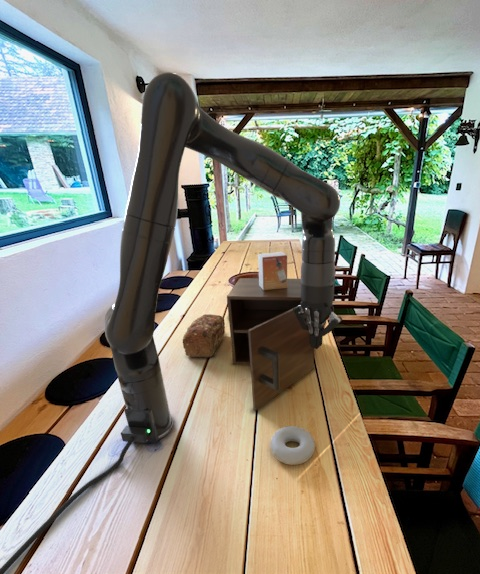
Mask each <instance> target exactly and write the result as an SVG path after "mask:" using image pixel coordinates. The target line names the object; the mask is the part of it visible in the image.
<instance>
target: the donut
mask: <svg viewBox="0 0 480 574" xmlns="http://www.w3.org/2000/svg"><path fill="white" fill-rule="evenodd" d="M288 442H295V443H298V444H299V445H298V446H297V447H289V446H287V445H286V444H287V443H288ZM269 444H270V445H269V446H270V451H271V453H272V455H273V456H274V458H275V459H277V460H278V461H279V462H281V463H283V464H285V465H291V466H295V465H301V464H304V463H306V462H307V461H308V460H310V459H311V458H312V456H313V454H314V453H315V450H316V449H315V448H316V442H315V439H314V437H313V435H312V434H311V433H310V432H309V431H308V430H307V429H305V428H303V427H300V426H295V425H289V426H284V427H280V428H279V429H278V430H277V431H275V432H274V433H273V435H272V436H271V439H270V443H269Z"/></svg>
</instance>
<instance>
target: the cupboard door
mask: <svg viewBox="0 0 480 574" xmlns="http://www.w3.org/2000/svg"><path fill="white" fill-rule="evenodd" d="M299 306H300V305H299ZM297 307H298V306H297ZM295 308H296V307H295ZM293 309H294V308H293ZM293 309H291V310H289V311H287V312H284V313H282V314H280V315H278V316H276V317H274V318H272V319H270V320H268V321H266V322H264V323H262V324H260V325H257V326H255V327H253V328H251V329H249V330H248V337H249V352H250V365H249V367H250V378H251V379H250V380H251V393H252V396H251V397H252V410H253V411H254V412H256V411H258V410H259V409H260V408H262V407H263V406H265V405H266V404H267V403H269V402H270V401H272V400H273V399H274V398H277V396H279V394H281V393H283V392H284V391H285V390H287V389H288V388H289V387H292V385H293V384H295V383H296V382H298V381H299V380H301V379H302V378H304V376H307V374H309V373H310V372H311V371H313V370H314V361H315V357H314V356H315V349H314V348H312V347H311V345H310V343H309V341H310V334H309V332H308V331H307V330H304V329H303V328H302V326H301V324H300V322H299V321H298V319H297V317H296V315H295V313H294V312H293ZM304 321H305V320H304ZM305 323H306V322H305Z"/></svg>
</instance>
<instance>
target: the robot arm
mask: <svg viewBox="0 0 480 574" xmlns="http://www.w3.org/2000/svg"><path fill="white" fill-rule="evenodd" d="M139 131H140V132H139V133H140V134H139V145H138V153H137V158H136V162H135V167H134V171H133V175H132V179H131V184H130V190H129V195H128V200H127V204H126V208H125V213H124V218H123V224H122V230H121V236H120V248H119V249H120V251H119V284H118V290H117V295H116V300H115V302H114V304H112V305H111V306H110V307H109V308H108V309H107V310H106V312H105V314H104V317H103V327H104V334H105V335H104V336H105V338H106V341H107V343H108V344H109V346H110V351H111V355H112V359H113V365H114V368H115V369H114V370H115V372H116V377H117V380H118V383H119V387H120V390H121V394H122V397H123V401H124V405H125V408H124V410H123V411H124V415H125V418H126V422H127V425H125V426H124V427H123V429H122V431H121V432H120V436H121V440H122V442H127V443H126V444H125V446H124V447H123V449H122V450H121V452H120V454H119V458H118V460H116V462H115V463H114V464H113V465H111V467H109V468H108V469H107V470H105V471H103V472H101V474H99V475H97V476H95V477H94V478H93V479H91V480H89V481H88V482H87V483H85V484H84V485H83V486H82V487H80V488H78V490H77V491H76V492H75V493H73V494H72V495H71V496H70V497H69V498H68V499H67V500H66V501H65V502H64V503H63V504H62V505H61V506H60V507H59V508H58V509H57V510H56V511H55V512H54V513H53V514H52V515H51V516H50V517H49V518H48V519H47V520H45V522H44V523H43V524H42V525H41V526H40V527H39V528H37V530H36V531H34V533H33V534H32V535H31V536H30V537H29V538H28V539H27V540H26V541H25V542H24V543H23V544H22V545H21V546H20V547H19V548H18V550H17V551H16V552H15V553H14V554H13V555H12V556H11V557H10V558H8V560H7V561H6V562H5V563H4V564H3V565H2V566H1V567H0V574H5V573H6V572H7V571H8V570H9V569H10V568H11V566H12V565H13V564H15V562H16V561H17V560H18V559H19V558H20V557H21V556H22V554H24V553H25V552H26V551H27V549H28V548H29V547H30V546H31V545H32V544H33V543H34V542H35V541H36V540H37V539H38V538H39V537H41V535H42V534H43V533H44V532H45V531H46V530H47V529H48V527H50V526H51V524H53V522H54V521H56V520H57V518H58V517H59V516H61V515H62V513H64V511H65V510H66V509H68V507H70V505H71V504H73V502H75V500H76V499H78V498H79V497H80V496H81V495H82V494H83V493H84V492H85V491H87V490H88V489H90V488H91V487H92V486H94V484H96V483H98V482H99V481H101V480H102V479H105V477H107V476H108V475H110V474H111V473H112V472H114V471H115V470H116V469H117V468H118V467H119V466H120V465H121V463H122V462H123V461H124V459H125V456H126V454H127V452H128V451H129V449H130V447H131V446H132V444H133V443H139V444H146V443H148V444H157V443H158V442H159V441H160V440H161V439H163V438H164V437H166V436H167V435H168V434H169V433H170V432H171V430H172V429H173V425H174V424H173V420H172V416H171V411H170V406H169V402H168V397H167V392H166V387H165V383H164V377H163V372H162V366H161V362H160V357H159V353H158V351H157V346H156V342H155V339H154V333H155V322H156V314H157V313H156V312H157V305H158V296H159V292H160V286H161V285H162V284H161V283H162V280H163V277H164V274H165V270H166V266H167V264H168V260H169V255H170V252H171V249H172V248H171V247H172V244H173V240H174V234H175V230H176V226H177V219H178V209H179V179H180V178H179V177H180V169H181V165H182V164H181V163H182V160H183V156H184V153H185V150H186V149H188V150H191V151H194V152H196V153H199V154H201V155H203V156H205V157H207V158H210V159H211V160H214V161H216V162H217V163H219V164H221V165H222V166H224V167H226V168H227V169H229V170H231V171H232V172H234V173H236V174H237V175H239V176H240V177H242V178H243V179H245V180H246V181H248V182H250V183H252V184H253V185H255V186H256V187H258V188H259V189H261V190H263V191H265V192H266V193H268V194H270V195H272V196H273V197H275V198H278V199H280V200H281V201H284V202H285V203H287V204H288V205H290V206H291V207H293V208H294V209H295V210H297V211H298V212H300V218H301V219H300V220H301V230H302V243H301V266H300V279H301V300H302V301H301V305H300V306H298V307H296V308H294V309H293V312H294V313H295V315H296V317H297V319H298V321H299V322H300V324H301V326H302V328H303V329H304V330H307V331H308V332H309V334H310V341H309V343H310V345H311V347H312V348H314V350H318V349H319V348H320V347H321V346H323V339H324V338H323V337H325V336H326V335H328V334H330V333H331V332H332V331H333V330H334V329H335V328H336V327H337V326H338V325H339V324H340V323H341V322H343V318H342V316H337V314H336V313H335V308H334V305H333V303H334V298H335V280H336V266H335V258H336V257H335V254H336V238H335V235H334V231H333V218H334V217H335V216H336V215H337V214H338V212H339V210H340V207H341V199H340V195H339V193H338V191H337V189H335V187H333V186H332V185H331V184H329V183H327V182H325V181H324V180H322V179H320V178H318V177H317V176H315V175H312V174H311V173H309V172H307V171H305V170H302V169H301V168H300V167H299V166H297V165H296V164H295V163H294V162H292V161H290V160H289V159H287V158H286V157H285V156H283V155H281V154H280V153H278V152H277V151H275V150H273V149H272V148H270V147H269V146H266V145H264V144H262V143H261V142H258V141H256V140H253V139H250V138H248V137H246V136H243V135H240V134H239V133H236V132H234V131H232V130H231V129H228V128H227V127H225V126H224V125H222V124H221V123H220V122H218V121H216V119H214V118H212V117H211V115H209V114H208V113H207V112H206V111H204V110H203V108H201V107H200V104H199V102H198V99H197V96H196V94H195V92H194V90H193V88H192V87H191V86H190V84H189V83H188V82H187V81H186V80H185V78H183V77H182V76H181V75H179V74H177V73H174V72H169V71H168V72H165V71H164V72H161V73H159V74H157V75H155V76H153V78H152V79H151V80H150V81H149V83H148V84H147V85H146V87H145V90H144V93H143V96H142V106H141V119H140V130H139ZM304 320H305V321H304ZM327 321H328V324H327ZM305 322H306V323H305Z"/></svg>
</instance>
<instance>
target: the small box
mask: <svg viewBox="0 0 480 574" xmlns="http://www.w3.org/2000/svg"><path fill="white" fill-rule="evenodd" d="M257 265H258V278H259V286H260V287H261V288H262V289H263V290H271V289H282V288H287V279H288V255H287V254H286V253H285V252H283V251H277V252H267V253H258V254H257Z"/></svg>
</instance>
